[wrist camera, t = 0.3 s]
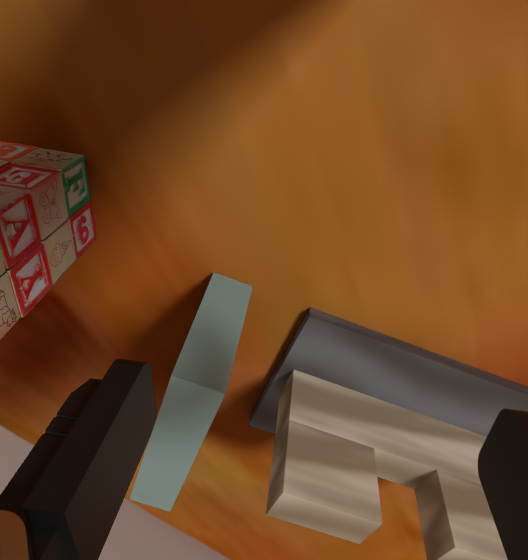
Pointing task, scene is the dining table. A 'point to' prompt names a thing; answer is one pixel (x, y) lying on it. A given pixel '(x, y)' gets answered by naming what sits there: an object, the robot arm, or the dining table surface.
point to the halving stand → (381, 436)
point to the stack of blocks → (39, 223)
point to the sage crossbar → (193, 392)
